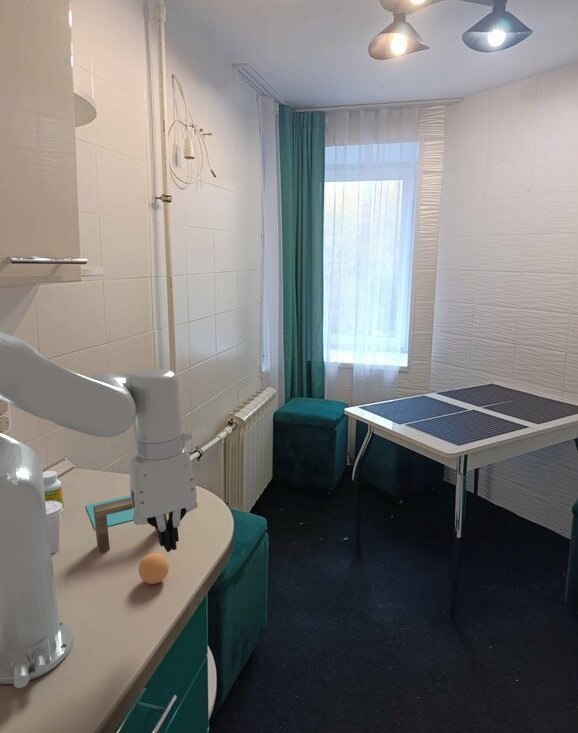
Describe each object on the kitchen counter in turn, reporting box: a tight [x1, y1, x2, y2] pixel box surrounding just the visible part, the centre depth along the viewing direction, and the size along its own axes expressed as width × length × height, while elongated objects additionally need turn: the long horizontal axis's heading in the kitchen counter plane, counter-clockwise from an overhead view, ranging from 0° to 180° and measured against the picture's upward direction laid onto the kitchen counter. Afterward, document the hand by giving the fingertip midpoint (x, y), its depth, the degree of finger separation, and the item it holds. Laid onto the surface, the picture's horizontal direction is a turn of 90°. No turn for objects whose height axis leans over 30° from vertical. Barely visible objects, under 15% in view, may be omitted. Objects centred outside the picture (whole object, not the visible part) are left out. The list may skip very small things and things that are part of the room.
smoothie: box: [45, 501, 64, 555], centre depth 108 cm, size 6×6×14 cm
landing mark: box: [85, 494, 134, 531], centre depth 126 cm, size 13×13×1 cm
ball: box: [138, 552, 170, 585], centre depth 98 cm, size 6×6×6 cm
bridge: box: [93, 497, 168, 553], centre depth 112 cm, size 3×14×9 cm, turn 120°
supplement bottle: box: [43, 470, 65, 512], centre depth 125 cm, size 5×5×10 cm
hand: (169, 546), depth 88 cm, fingers closed
